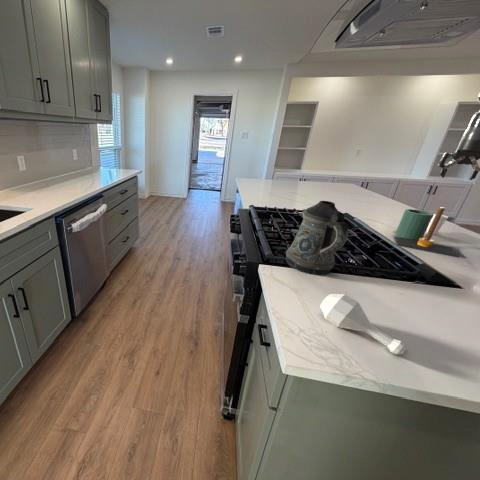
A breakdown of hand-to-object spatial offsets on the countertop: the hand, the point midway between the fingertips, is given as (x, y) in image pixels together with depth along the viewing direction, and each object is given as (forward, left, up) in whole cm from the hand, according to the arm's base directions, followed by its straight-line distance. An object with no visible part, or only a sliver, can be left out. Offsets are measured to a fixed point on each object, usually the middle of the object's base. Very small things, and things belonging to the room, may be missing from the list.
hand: (455, 178), depth 110 cm
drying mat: (+2, +9, -30) cm, 31 cm away
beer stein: (+42, +63, -30) cm, 82 cm away
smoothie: (-5, -18, -30) cm, 36 cm away
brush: (+2, +9, -30) cm, 31 cm away
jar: (+6, -3, -30) cm, 31 cm away
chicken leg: (+28, +96, -30) cm, 104 cm away
